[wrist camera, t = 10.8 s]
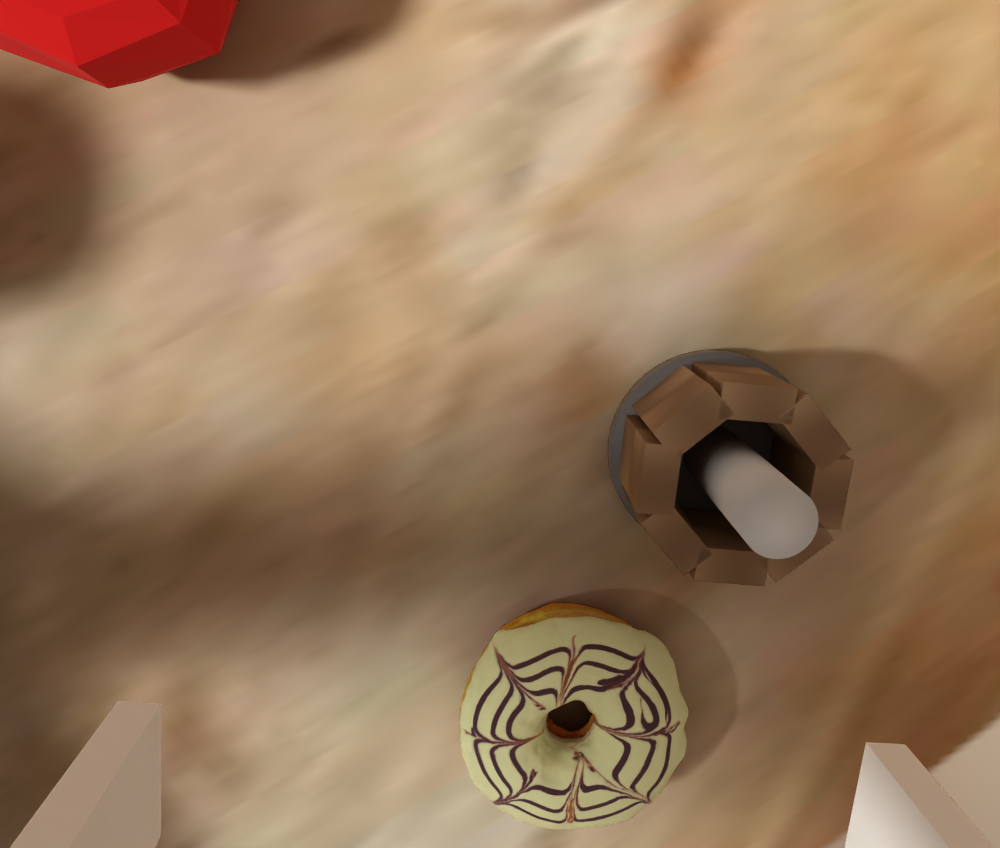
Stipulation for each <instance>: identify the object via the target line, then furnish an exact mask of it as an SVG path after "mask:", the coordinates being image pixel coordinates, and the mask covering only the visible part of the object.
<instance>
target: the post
mask: <svg viewBox="0 0 1000 848" xmlns="http://www.w3.org/2000/svg"><path fill="white" fill-rule="evenodd" d="M693 361H695V362H706V363H718V364H730V365H741V366H753V367H758V368H760V369H762V370H764V371H766V372H768V373H770V374H772V375H773V376H775V377H777V378H779V379H781V380H783V381H785V382H787V383H789V382H788V381H787V380H786V379H785V378H784V377H783V376H781V375H780V374H779V373H778V372H777V371H775V370H774V369H772V368H770V367H769V366H767V365H765V364H764V363H762V362H760V361H757V360H755V359H753V358H751V357H748V356H746V355H743V354H739V353H736V352H731V351H724V350H701V351H693V352H689V353H685V354H681V355H679V356H676V357H673V358H671V359H668V360H666V361H665V362H663V363H661V364H659V365H657V366H656V367H654V368H653V369H652V370H650V371H649V372H647V373H646V374H645V375H644V376H643V377H642V378H640V379H639V380H638V381H637V382H636V383H635V384H634V386H633V387H632V388H631V389H630V390H629V392H628V393H627V394H626V396H625V397H624V399H623V400H622V402H621V404H620V405H619V408H618V410H617V412H616V414H615V416H614V419H613V422H612V425H611V429H610V434H609V440H608V461H609V468H610V473H611V477H612V480H613V482H614V485H615V488H616V490H617V492H618V494H619V496H620V498H621V500H622V502H623V503H624V505H625V507H626V508H627V510H628V511H629V512H630V514H631V515H632V516H633V517H634V518H635V519H636V521H637V522H638V523H639V524H640V522H639V520H638V518H637V516H636V514H635V512H634V510H633V508H632V506H631V504H630V502H629V500H628V498H627V496H626V494H625V492H624V490H623V488H622V483H621V481H620V479H619V477H618V474H619V466H620V458H621V450H622V442H623V434H624V426H625V418H626V415H632V416H639V415H638V413H637V412H636V411H635V410H634V408H633V407H632V406H631V405H633V404H634V403H635V402H636V401H638V400H639V399H640V398H641V397H643V396H644V395H645V394H646V393H648V392H649V391H650V390H651V389H653V388H654V387H655V386H656V385H658V384H659V383H660V382H661V381H663V380H664V379H665V378H666V377H668V376H669V375H670V374H671V373H673V372H674V371H675V370H676V369H678V368H679V367H680V366H681V365H683V366H685V367H686V368H688V369H689V370H690V371H692V364H693ZM789 384H790V383H789ZM772 440H773V433H772V432H771V431H770V430H769V428H768V427H767V426H766V425H765V423H764V422H755V421H743V420H731V419H727V420H726V421H724V422H723V423H722V424H720V425H719V426H718V427H717V428H715V429H714V430H713V431H712V432H710V433H709V434H708V435H706V436H705V437H704V438H703V439H701V440H700V441H699V442H697V443H696V444H695V445H694V446H692V447H691V448H690V449H688V450H687V451H686V452H685V453H683V454H682V456H681V463H680V470H679V477H678V485H677V492H676V499H675V502H676V503H677V504H678V506H679V507H685V508H698V509H710V510H720V511H721V512H722V513H723V515H724V516H725V517H726V518H727V520H728V521H729V522H730V523H731V525H732V526H733V527H734V528H735V529H736V531H737V532H738V533H739V534H740V536H741V537H742V538H743V539H744V541H745V542H746V543H747V544H748V545H749V547H750V548H751V549H752V550H753V551H755V552H756V553H757V554H759V555H761V556H763V557H766V558H770V559H784V558H789V557H792V556H794V555H796V554H798V553H800V552H801V551H803V550H804V549H805V548H806V547H807V546H808V545H809V544H810V543H811V541H812V540H813V538H814V536H815V534H816V532H817V528H818V521H819V520H818V512H817V509H816V506H815V504H814V502H813V501H812V500H811V498H810V497H809V496H808V495H806V494H805V493H804V492H803V491H802V490H801V489H799V488H798V487H797V486H796V485H795V484H793V483H792V482H791V481H790V480H789V479H788V478H786V477H785V476H784V475H783V474H782V473H780V472H779V471H778V470H777V469H776V468H775V467H773V466H772V465H771V464H770V463H769V459H770V452H771V446H772ZM640 525H641V524H640ZM641 526H642V525H641Z"/></svg>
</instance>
